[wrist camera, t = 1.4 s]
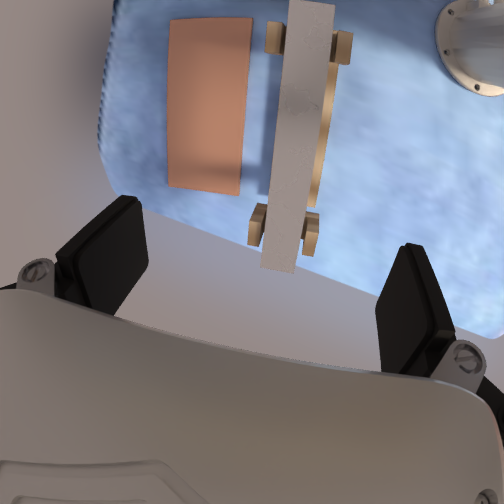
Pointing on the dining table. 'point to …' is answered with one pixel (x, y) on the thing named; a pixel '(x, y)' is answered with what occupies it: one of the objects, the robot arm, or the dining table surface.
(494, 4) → the robot arm
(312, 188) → the hook stand
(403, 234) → the dining table surface
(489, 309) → the dining table surface
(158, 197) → the dining table surface
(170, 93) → the terracotta mat
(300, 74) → the steel bar
